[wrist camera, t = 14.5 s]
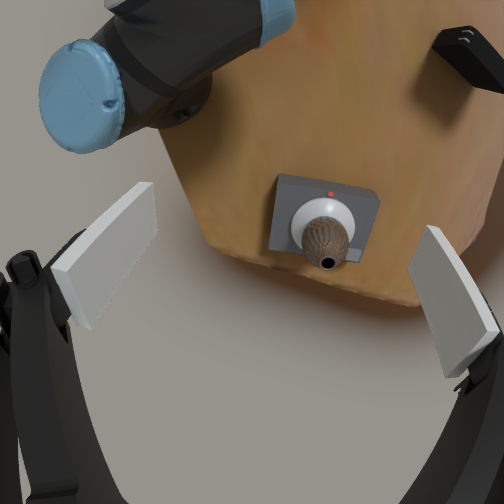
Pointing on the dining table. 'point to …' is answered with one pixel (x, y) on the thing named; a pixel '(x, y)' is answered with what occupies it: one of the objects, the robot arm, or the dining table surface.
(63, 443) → the robot arm
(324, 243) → the vase
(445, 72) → the dining table surface
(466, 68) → the electronic device
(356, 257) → the grey dome button box
